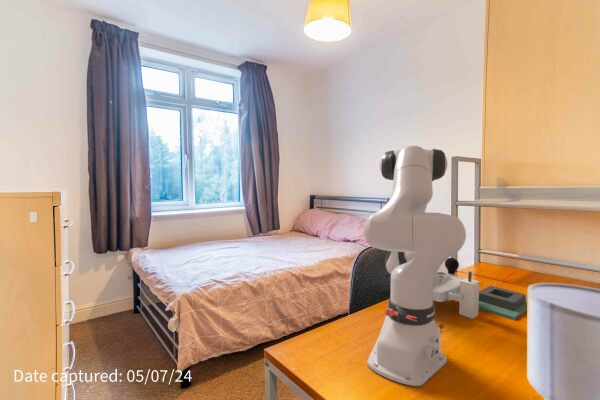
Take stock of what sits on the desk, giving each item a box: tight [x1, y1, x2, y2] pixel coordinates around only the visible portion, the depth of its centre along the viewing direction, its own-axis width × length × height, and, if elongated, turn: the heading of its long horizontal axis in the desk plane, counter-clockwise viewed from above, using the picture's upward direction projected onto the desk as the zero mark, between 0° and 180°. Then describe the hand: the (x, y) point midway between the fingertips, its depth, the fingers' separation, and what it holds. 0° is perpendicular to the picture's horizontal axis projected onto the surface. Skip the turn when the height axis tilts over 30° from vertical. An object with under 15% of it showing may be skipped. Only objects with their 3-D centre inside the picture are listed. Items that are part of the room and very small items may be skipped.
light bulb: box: [444, 257, 460, 276], centre depth 142 cm, size 6×6×10 cm
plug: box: [458, 270, 480, 319], centre depth 106 cm, size 4×4×16 cm
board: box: [478, 285, 528, 321], centre depth 115 cm, size 22×16×4 cm
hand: (469, 295), depth 106 cm, fingers open, 8 cm apart
